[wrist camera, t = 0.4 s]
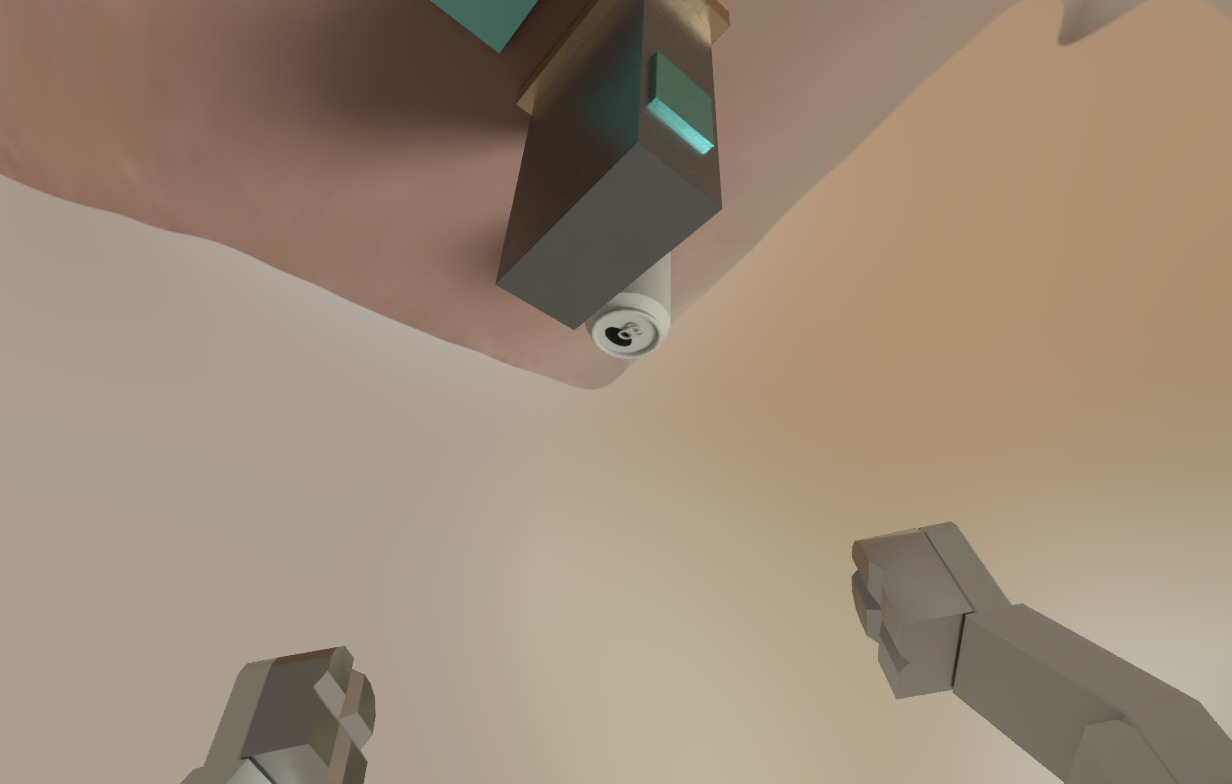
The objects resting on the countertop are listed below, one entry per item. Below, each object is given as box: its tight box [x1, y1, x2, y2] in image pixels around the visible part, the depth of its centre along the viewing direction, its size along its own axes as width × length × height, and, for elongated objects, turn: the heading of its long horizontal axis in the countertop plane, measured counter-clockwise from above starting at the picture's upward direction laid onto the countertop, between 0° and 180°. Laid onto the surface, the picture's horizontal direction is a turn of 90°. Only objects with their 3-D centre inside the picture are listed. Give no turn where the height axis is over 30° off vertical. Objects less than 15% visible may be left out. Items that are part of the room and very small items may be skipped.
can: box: [585, 251, 671, 359], centre depth 65 cm, size 8×8×12 cm
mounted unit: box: [496, 0, 730, 330], centre depth 48 cm, size 15×8×22 cm, turn 140°
